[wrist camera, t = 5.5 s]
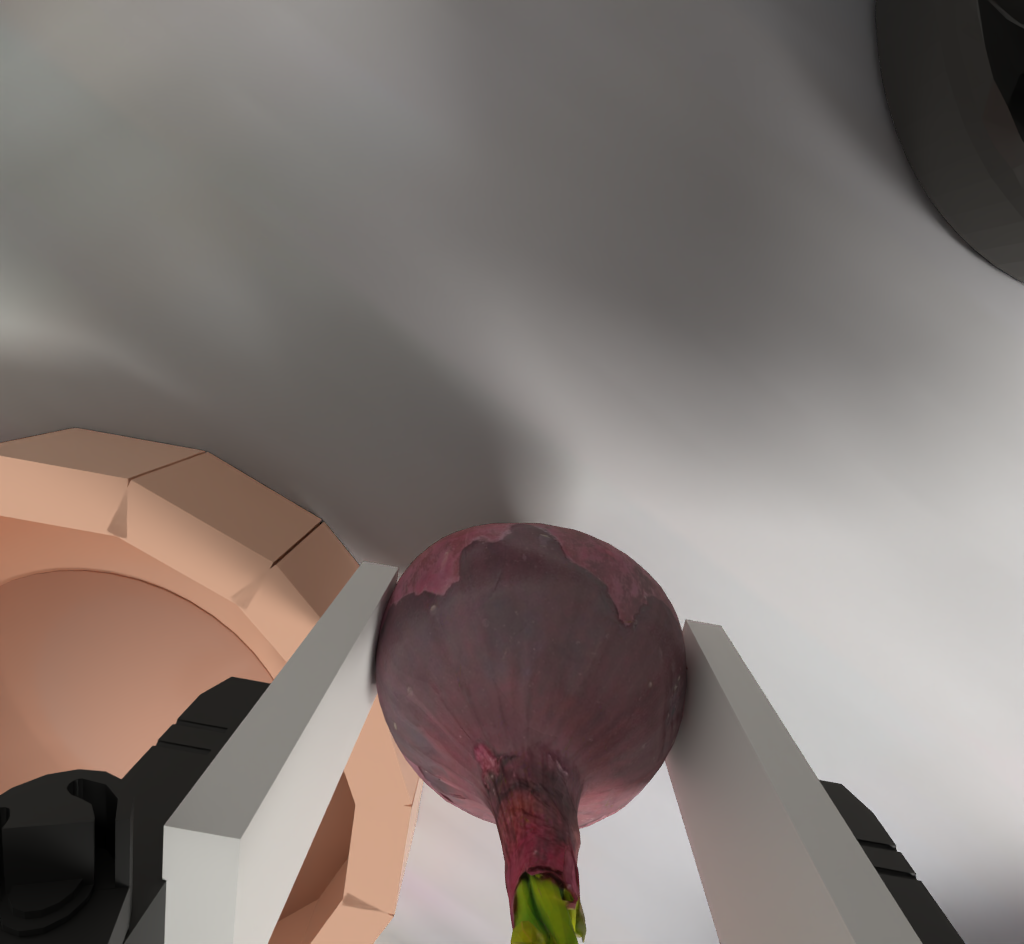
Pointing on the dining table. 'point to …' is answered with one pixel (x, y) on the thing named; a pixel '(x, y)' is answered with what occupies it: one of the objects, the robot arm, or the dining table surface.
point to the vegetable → (532, 695)
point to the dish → (179, 639)
